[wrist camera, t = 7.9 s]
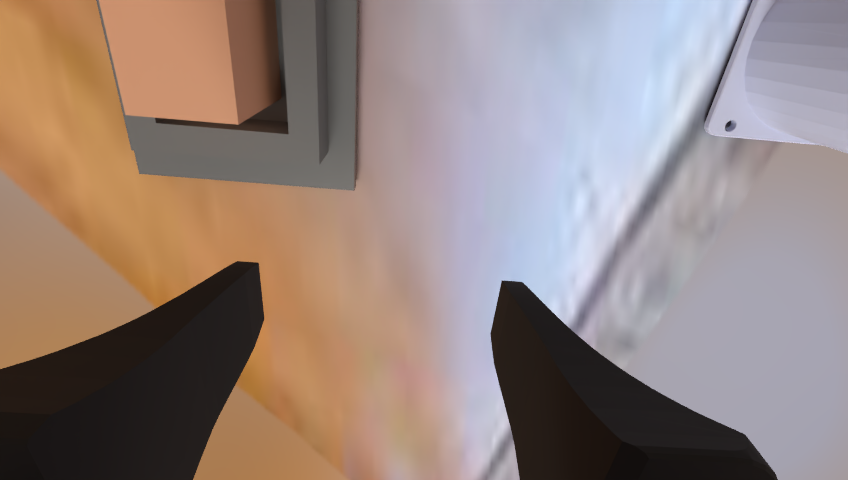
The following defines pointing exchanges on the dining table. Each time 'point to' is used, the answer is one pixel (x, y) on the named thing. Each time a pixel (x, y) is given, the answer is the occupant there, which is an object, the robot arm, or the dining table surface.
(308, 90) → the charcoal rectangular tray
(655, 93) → the dining table surface
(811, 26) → the robot arm
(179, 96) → the terracotta bar
